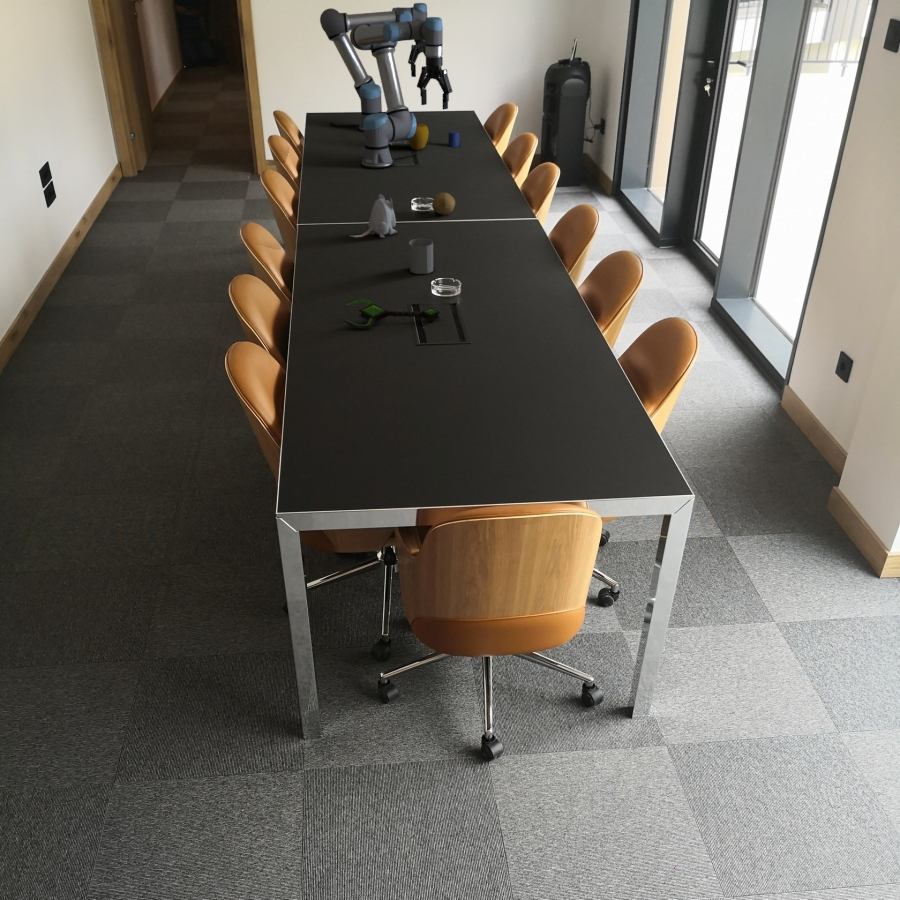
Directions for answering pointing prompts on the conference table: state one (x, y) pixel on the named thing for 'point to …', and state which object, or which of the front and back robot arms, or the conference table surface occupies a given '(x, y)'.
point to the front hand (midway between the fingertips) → (434, 106)
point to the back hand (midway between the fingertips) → (421, 75)
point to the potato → (443, 203)
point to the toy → (381, 218)
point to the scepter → (386, 313)
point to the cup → (421, 256)
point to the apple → (419, 137)
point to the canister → (453, 138)
